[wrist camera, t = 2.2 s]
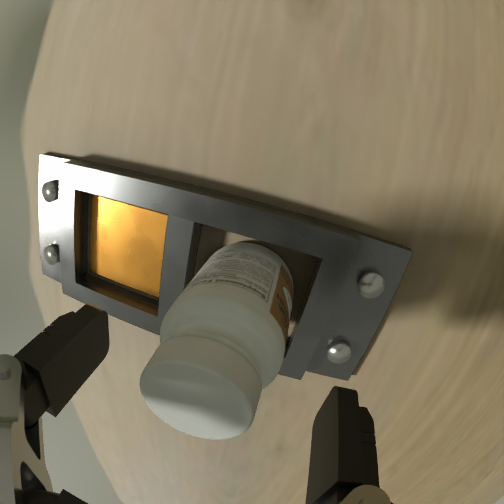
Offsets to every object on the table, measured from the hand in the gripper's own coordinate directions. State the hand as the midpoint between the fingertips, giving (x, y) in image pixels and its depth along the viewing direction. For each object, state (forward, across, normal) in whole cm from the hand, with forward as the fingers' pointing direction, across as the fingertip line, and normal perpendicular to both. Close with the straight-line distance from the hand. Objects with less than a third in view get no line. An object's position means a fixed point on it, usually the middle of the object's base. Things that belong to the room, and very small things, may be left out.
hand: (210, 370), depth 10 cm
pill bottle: (+6, 0, 0) cm, 6 cm away
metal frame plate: (+6, +3, 0) cm, 7 cm away
